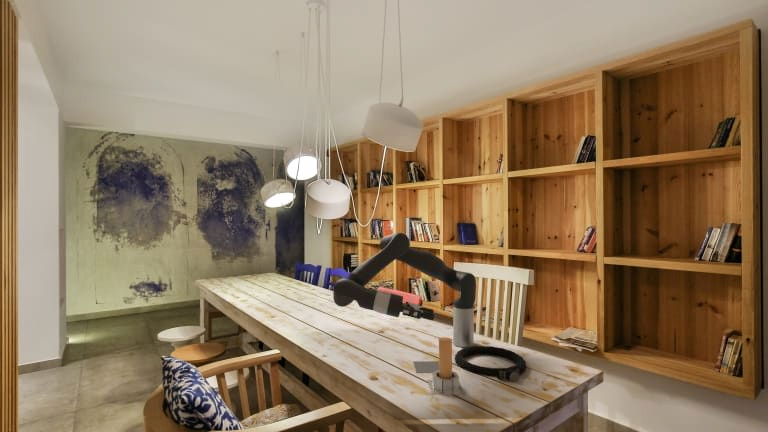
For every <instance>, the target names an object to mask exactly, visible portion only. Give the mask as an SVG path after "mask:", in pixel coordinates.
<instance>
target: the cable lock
mask: <svg viewBox="0 0 768 432" xmlns="http://www.w3.org/2000/svg"><path fill="white" fill-rule="evenodd" d="M475 355H480V356H481V355H489V356H495V357H500V358H504V359H508V360H510V361H512V362H514V363H515V365H512V366H507V367H488V366H481V365H477V364H475V363H471V362H469V361H467V360H466V359H465V358H468V357H470V356H475ZM454 362H455V364H456V365H457V366H459V367H460V368H461V369H463V370H465V371H468V372H470V373H473V374H477V375H483V376H487V377H496V378H497V379H498V380H506V381H508V382H511V383H512V382H518V380H519V377H520V375H522V373H524V372H526V369H527V362H526V360H525V359H524V357H523V356H521V355H520V354H519V353H516V352H514V351H512V350H509V349H506V348H504V347H497V346H496V347H495V346H489V345H488V346H487V345H475V346H474V345H473V346H472V347H463V348H461V349H460V350H457V352H456V354H455V355H454Z"/></svg>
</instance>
